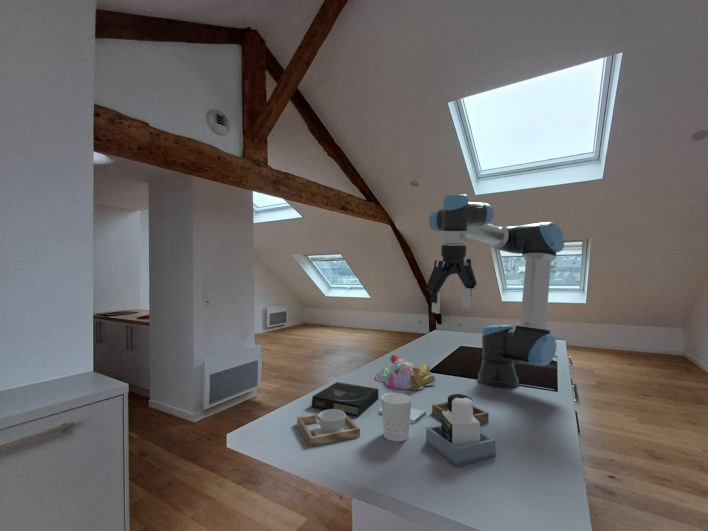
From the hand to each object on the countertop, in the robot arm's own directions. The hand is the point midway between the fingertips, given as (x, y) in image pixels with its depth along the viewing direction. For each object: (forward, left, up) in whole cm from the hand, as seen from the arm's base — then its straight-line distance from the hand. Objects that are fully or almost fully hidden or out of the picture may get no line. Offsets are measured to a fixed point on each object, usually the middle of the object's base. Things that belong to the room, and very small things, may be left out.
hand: (451, 309), depth 107 cm
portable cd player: (+29, -18, -33) cm, 47 cm away
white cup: (+25, +8, -32) cm, 42 cm away
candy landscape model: (-2, -31, -33) cm, 45 cm away
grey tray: (+14, +20, -32) cm, 41 cm away
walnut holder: (+1, +5, -32) cm, 32 cm away
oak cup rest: (+41, -2, -32) cm, 52 cm away
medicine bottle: (+14, +20, -31) cm, 40 cm away
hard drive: (+16, -3, -33) cm, 37 cm away
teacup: (+40, -1, -32) cm, 52 cm away
